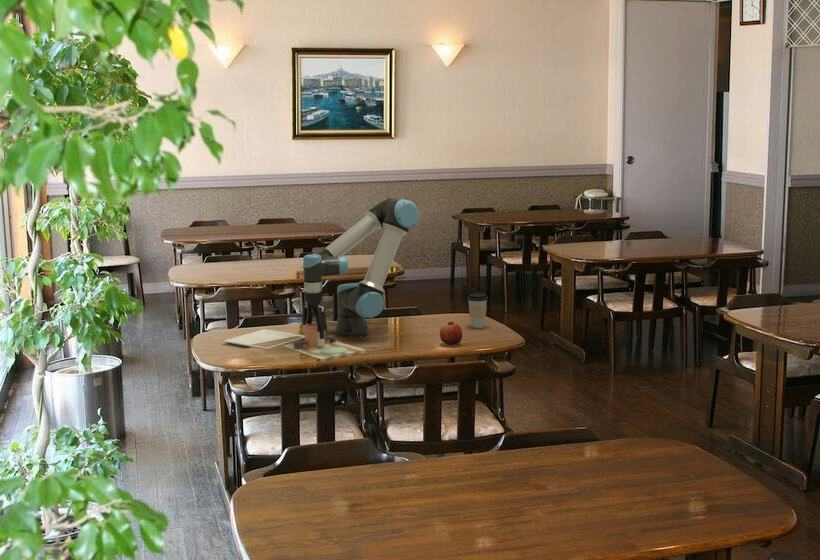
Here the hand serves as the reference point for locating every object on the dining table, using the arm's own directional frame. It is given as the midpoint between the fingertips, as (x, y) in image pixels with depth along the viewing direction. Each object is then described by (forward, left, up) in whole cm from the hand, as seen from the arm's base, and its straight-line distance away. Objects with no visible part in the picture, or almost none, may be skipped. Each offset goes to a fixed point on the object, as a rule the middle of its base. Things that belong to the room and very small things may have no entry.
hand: (315, 344), depth 416 cm
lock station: (0, +6, -2) cm, 6 cm away
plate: (+10, -24, -2) cm, 26 cm away
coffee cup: (-77, +18, -2) cm, 79 cm away
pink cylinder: (0, 0, 0) cm, 0 cm away
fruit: (-46, +35, -2) cm, 58 cm away
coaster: (0, +14, 0) cm, 14 cm away
